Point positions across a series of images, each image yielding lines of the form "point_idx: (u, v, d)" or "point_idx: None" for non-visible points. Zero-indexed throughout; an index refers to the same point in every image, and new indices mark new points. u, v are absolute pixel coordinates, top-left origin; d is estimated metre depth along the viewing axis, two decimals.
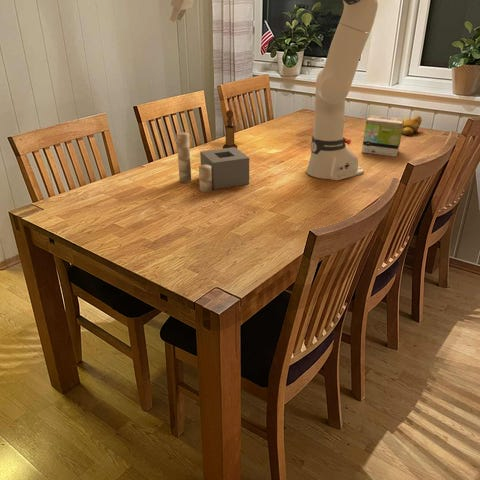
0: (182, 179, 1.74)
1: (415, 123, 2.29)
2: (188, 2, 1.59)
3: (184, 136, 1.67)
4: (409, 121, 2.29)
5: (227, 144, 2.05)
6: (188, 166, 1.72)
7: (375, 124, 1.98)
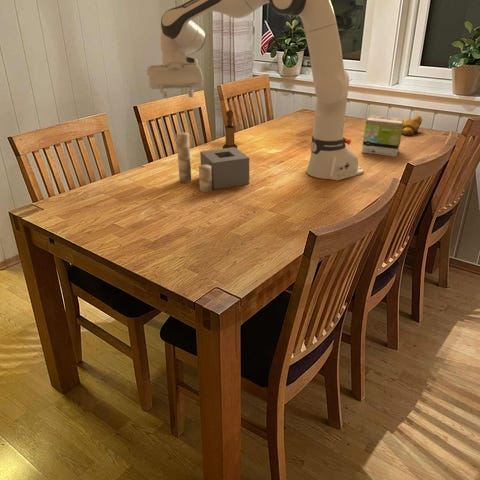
0: (182, 179, 1.74)
1: (415, 123, 2.29)
2: (173, 77, 1.74)
3: (184, 136, 1.67)
4: (409, 121, 2.29)
5: (227, 144, 2.05)
6: (188, 166, 1.72)
7: (375, 124, 1.98)
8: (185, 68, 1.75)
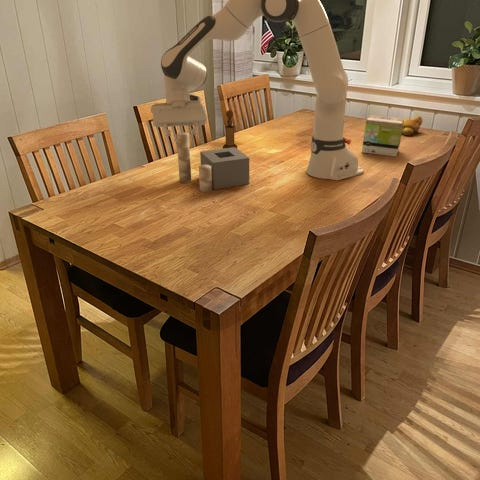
0: (182, 179, 1.74)
1: (415, 123, 2.28)
2: (177, 115, 1.74)
3: (184, 136, 1.67)
4: (409, 121, 2.29)
5: (227, 144, 2.05)
6: (188, 166, 1.72)
7: (375, 124, 1.98)
8: (189, 106, 1.76)
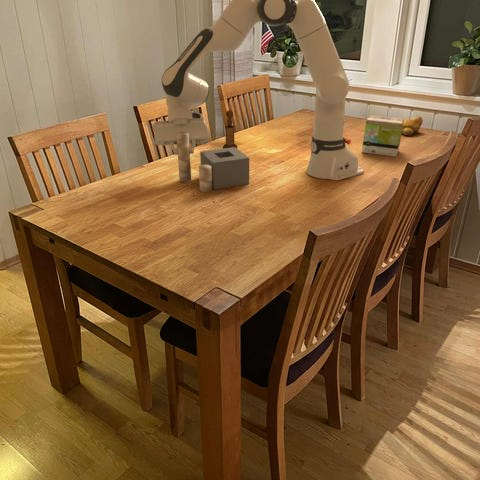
0: (182, 179, 1.74)
1: (415, 124, 2.28)
2: None
3: (184, 136, 1.67)
4: (409, 121, 2.28)
5: (227, 144, 2.05)
6: (188, 166, 1.72)
7: (375, 124, 1.98)
8: (191, 124, 1.72)
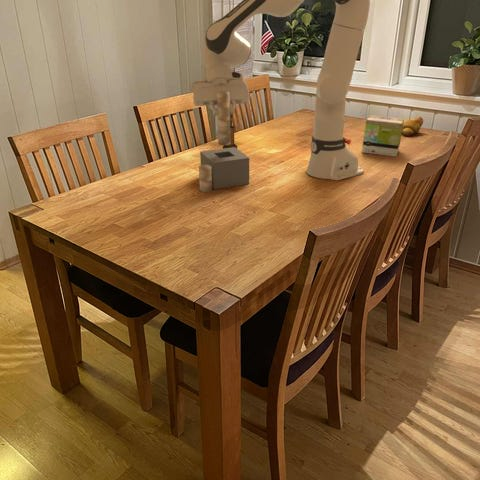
0: (221, 141, 1.68)
1: (415, 124, 2.28)
2: None
3: (225, 95, 1.61)
4: (409, 122, 2.28)
5: None
6: (228, 127, 1.66)
7: (375, 124, 1.98)
8: (231, 84, 1.66)
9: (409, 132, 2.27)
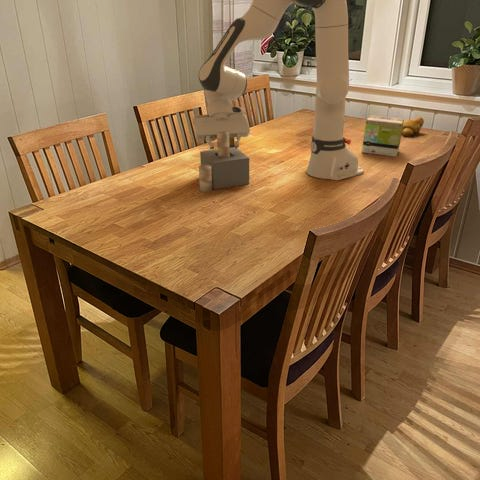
0: None
1: (415, 124, 2.27)
2: (220, 127, 1.71)
3: (225, 135, 1.67)
4: (409, 122, 2.27)
5: None
6: None
7: (375, 124, 1.98)
8: (231, 118, 1.72)
9: (409, 132, 2.26)
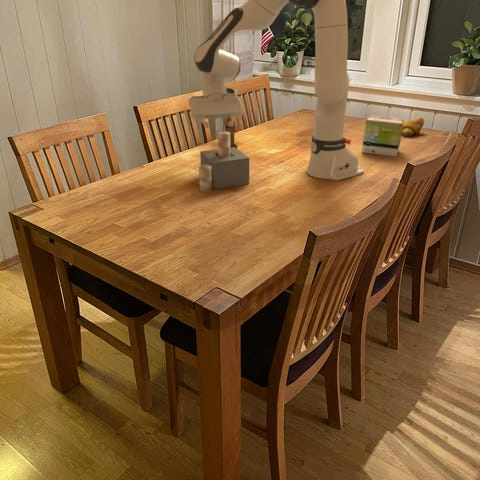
0: None
1: (415, 124, 2.27)
2: (214, 107, 1.79)
3: (226, 135, 1.67)
4: (409, 122, 2.27)
5: None
6: None
7: (375, 124, 1.98)
8: (225, 99, 1.81)
9: (409, 133, 2.26)
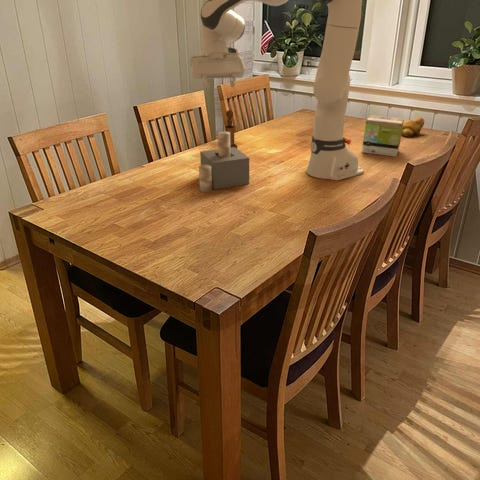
0: None
1: (415, 125, 2.26)
2: (216, 67, 1.77)
3: (226, 135, 1.67)
4: (409, 122, 2.27)
5: None
6: None
7: (375, 124, 1.98)
8: (227, 58, 1.78)
9: (408, 133, 2.26)
